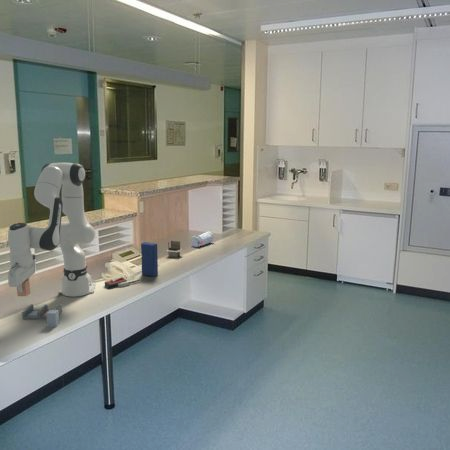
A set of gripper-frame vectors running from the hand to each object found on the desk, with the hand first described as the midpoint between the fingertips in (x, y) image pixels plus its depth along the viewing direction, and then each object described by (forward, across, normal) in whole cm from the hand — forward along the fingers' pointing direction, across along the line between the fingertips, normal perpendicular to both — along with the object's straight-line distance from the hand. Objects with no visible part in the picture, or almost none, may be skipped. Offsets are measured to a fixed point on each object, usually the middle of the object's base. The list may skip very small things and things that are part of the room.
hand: (23, 289), depth 206 cm
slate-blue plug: (+17, 0, -12) cm, 21 cm away
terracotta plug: (+2, 0, 0) cm, 2 cm away
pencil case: (+19, +154, -73) cm, 171 cm away
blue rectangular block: (+18, +76, -44) cm, 89 cm away
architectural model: (+19, +118, -55) cm, 132 cm away
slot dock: (+17, +11, -3) cm, 20 cm away
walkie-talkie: (+18, +57, -31) cm, 67 cm away
